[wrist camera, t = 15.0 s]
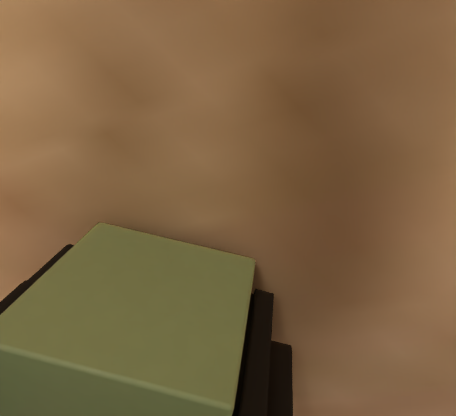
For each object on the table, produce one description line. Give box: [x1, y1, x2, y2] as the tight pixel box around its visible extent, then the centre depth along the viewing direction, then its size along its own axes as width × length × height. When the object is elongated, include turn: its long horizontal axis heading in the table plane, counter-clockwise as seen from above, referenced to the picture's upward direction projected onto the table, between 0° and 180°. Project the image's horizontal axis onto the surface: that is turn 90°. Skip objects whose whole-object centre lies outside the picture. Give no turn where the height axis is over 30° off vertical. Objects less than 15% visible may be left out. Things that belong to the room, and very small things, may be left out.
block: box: [0, 222, 256, 416], centre depth 9 cm, size 5×5×5 cm
